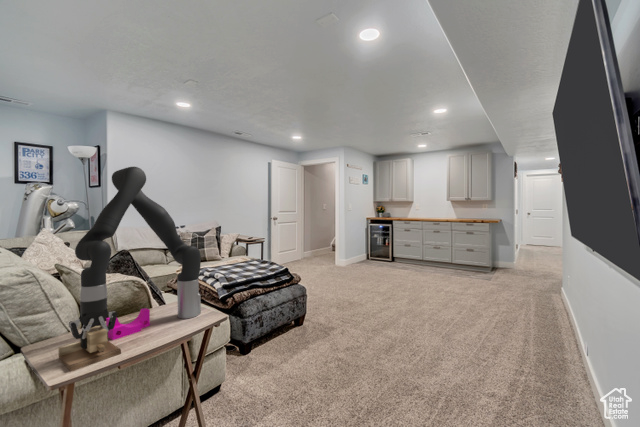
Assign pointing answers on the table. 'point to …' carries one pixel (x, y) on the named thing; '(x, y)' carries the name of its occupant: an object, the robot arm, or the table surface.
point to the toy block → (130, 325)
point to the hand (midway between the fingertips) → (94, 345)
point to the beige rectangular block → (96, 339)
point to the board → (84, 355)
